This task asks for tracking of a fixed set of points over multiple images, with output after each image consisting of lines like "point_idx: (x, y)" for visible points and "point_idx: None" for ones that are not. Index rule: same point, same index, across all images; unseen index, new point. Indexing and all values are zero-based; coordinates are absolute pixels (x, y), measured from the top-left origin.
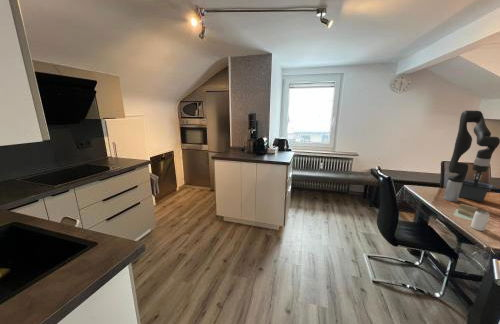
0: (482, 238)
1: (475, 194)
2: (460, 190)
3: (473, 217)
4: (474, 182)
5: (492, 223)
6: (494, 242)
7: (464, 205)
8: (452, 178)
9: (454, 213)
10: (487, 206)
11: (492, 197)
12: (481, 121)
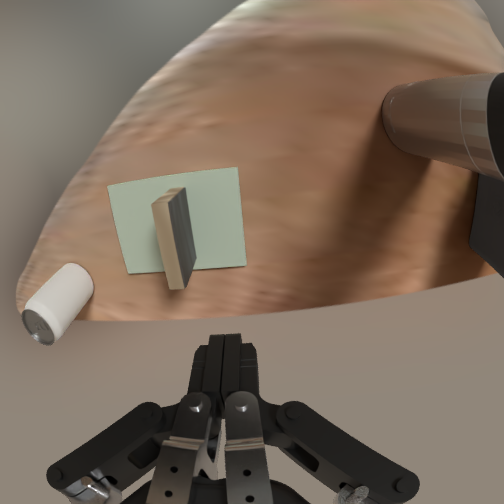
0: (32, 295)
1: (493, 228)
2: (456, 165)
3: (43, 285)
4: (185, 397)
5: (190, 311)
6: None
7: (156, 228)
8: None
9: (140, 181)
10: (429, 267)
11: None
12: None
